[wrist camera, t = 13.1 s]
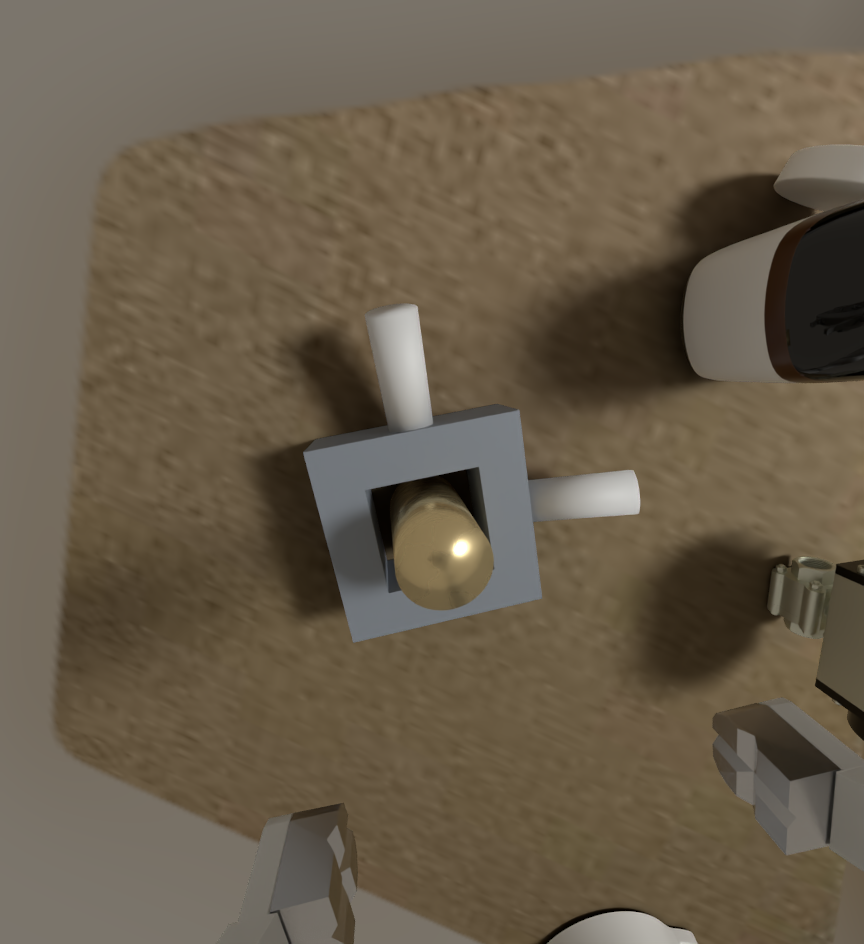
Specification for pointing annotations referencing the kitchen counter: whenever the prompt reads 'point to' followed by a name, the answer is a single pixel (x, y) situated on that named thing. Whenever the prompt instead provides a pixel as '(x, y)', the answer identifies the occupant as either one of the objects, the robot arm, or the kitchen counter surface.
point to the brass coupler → (437, 545)
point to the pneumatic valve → (827, 624)
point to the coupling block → (429, 454)
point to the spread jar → (788, 285)
